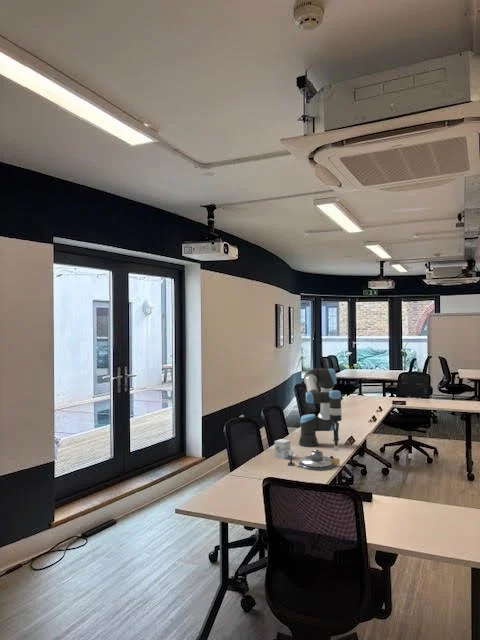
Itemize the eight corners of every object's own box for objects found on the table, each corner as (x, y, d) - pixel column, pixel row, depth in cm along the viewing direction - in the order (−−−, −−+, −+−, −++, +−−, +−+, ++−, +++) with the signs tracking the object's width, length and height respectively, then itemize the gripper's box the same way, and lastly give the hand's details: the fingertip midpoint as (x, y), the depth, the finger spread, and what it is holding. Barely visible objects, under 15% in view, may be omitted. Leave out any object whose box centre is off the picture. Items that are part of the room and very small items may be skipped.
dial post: (288, 463, 323) (288, 449, 323) (298, 464, 321) (297, 449, 321) (287, 465, 319) (287, 450, 319) (297, 466, 317) (297, 451, 317)
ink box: (281, 454, 347) (280, 438, 347) (291, 456, 342) (290, 440, 342) (274, 457, 340) (274, 440, 340) (284, 458, 335) (284, 442, 335)
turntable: (302, 457, 332) (302, 452, 332) (340, 459, 326) (340, 454, 326) (298, 466, 311) (298, 461, 311) (338, 469, 304) (338, 463, 304)
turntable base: (301, 459, 333) (301, 457, 333) (336, 460, 327) (336, 459, 327) (296, 469, 310) (296, 467, 310) (333, 471, 304) (333, 469, 304)
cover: (311, 457, 324) (311, 448, 324) (323, 458, 322) (323, 448, 322) (310, 461, 316) (310, 451, 316) (322, 461, 314) (322, 452, 314)
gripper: (330, 412, 317) (331, 447, 316) (328, 415, 304) (329, 452, 304) (341, 412, 315) (342, 448, 314) (340, 416, 302) (341, 453, 302)
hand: (336, 450), depth 309 cm, fingers closed
